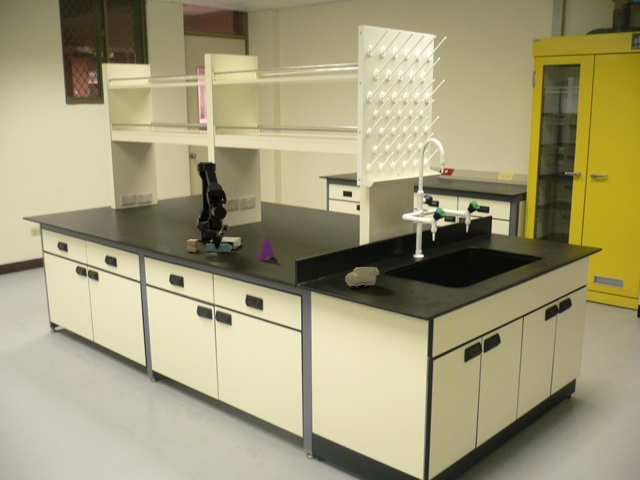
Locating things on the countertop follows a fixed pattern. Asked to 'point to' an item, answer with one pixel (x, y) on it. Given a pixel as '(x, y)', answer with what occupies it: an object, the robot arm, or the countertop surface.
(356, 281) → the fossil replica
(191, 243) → the beech block
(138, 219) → the countertop surface
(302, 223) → the countertop surface
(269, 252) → the arrowhead
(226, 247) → the tray
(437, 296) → the countertop surface
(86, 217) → the countertop surface
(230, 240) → the block
